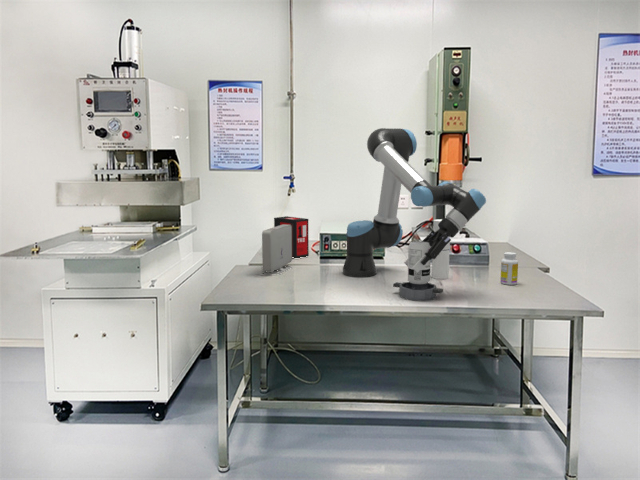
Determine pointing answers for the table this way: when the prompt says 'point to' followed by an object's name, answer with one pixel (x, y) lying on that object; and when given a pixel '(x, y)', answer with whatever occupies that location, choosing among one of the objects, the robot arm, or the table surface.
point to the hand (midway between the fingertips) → (410, 267)
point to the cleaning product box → (296, 234)
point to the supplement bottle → (509, 269)
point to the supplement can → (414, 255)
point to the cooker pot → (417, 291)
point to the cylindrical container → (441, 259)
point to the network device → (277, 248)
